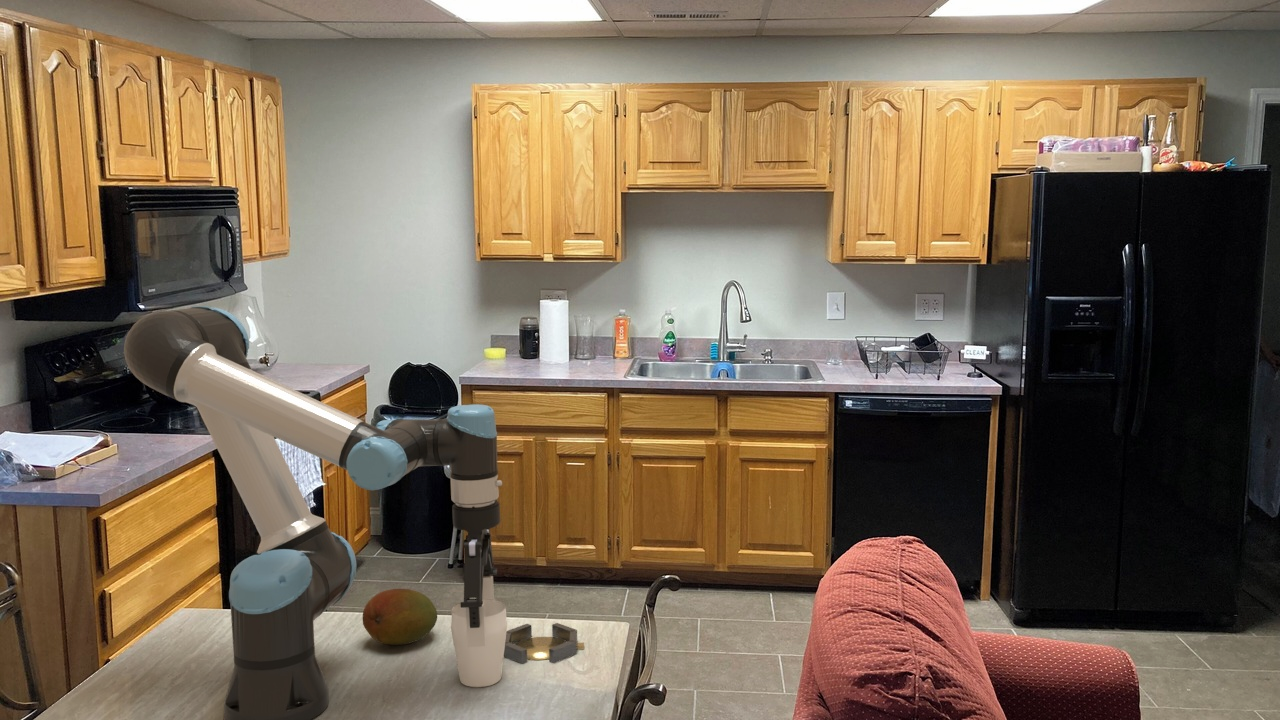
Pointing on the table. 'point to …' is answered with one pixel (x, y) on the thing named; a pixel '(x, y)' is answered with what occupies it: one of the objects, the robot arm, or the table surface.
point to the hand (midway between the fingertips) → (481, 629)
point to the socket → (541, 644)
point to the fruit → (399, 616)
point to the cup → (480, 661)
